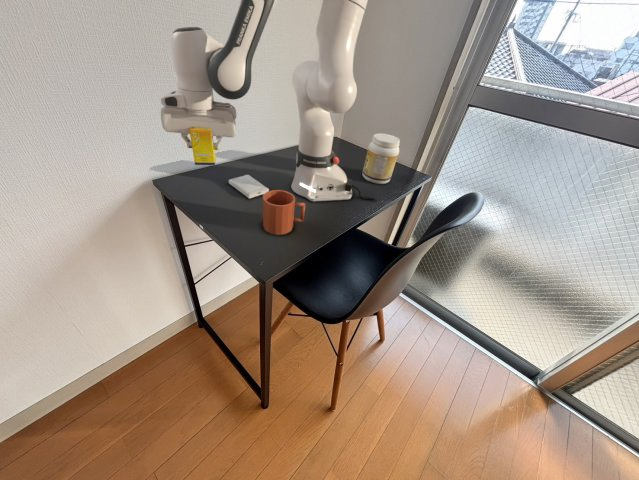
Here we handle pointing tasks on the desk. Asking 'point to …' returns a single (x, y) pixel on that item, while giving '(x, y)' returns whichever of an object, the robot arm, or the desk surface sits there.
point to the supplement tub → (381, 158)
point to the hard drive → (248, 186)
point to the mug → (280, 212)
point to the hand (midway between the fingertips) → (203, 148)
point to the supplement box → (202, 146)
